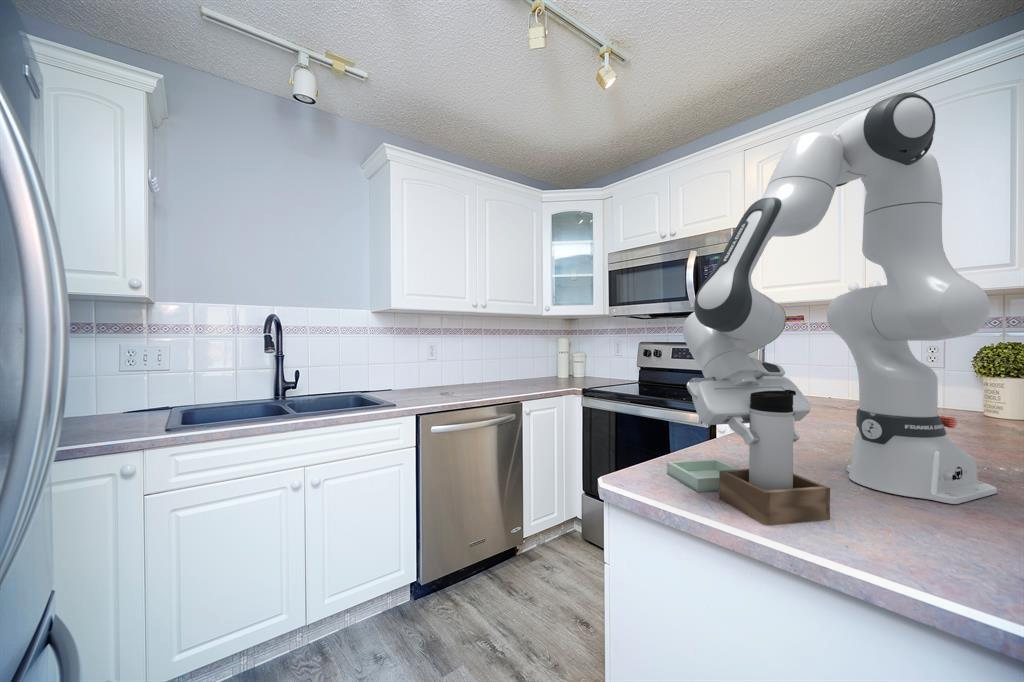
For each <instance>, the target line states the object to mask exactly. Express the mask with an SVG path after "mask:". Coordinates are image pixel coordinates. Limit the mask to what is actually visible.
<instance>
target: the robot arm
mask: <svg viewBox="0 0 1024 682" xmlns="http://www.w3.org/2000/svg"><path fill="white" fill-rule="evenodd" d="M935 131H936V112H935V109H934V107H933V105H932V103H931V101H929V100H928V99H927V98H925V97H924V96H922V95H920V94H919V93H916V92H903V93H902V92H901V93H898V94H894V95H892V96H889V97H887V98H884V99H882V100H879V101H878V102H877V103H875V104H874V105H873V106H872V107H870V108H867V109H865V110H863V111H861V112H860V113H858V114H856V115H854V116H852V117H851V118H849V119H847V120H846V121H845V122H843V123H842V124H841V125H840V126H839V127H837V128H836V129H834V130H833V131H831V132H826V131H812V132H806V133H804V134H801V135H800V136H798V137H796V138H795V139H793V141H791V142H790V143H789V144H788V146H787V147H786V149H785V150H784V152H783V153H782V155H781V158H780V159H779V161H778V162H777V164H776V167H775V168H774V170H773V173H772V174H771V176H770V178H769V182H768V184H767V186H766V189H765V191H764V194H763V195H762V197H761V198H760V199H757V200H756V201H755V202H753V203H752V204H751V205H750V206H749V207H748V208H747V210H745V212H744V214H743V215H742V217H741V218H740V220H739V222H738V224H737V226H736V227H735V229H734V230H733V232H732V235H731V237H730V239H729V240H728V242H727V244H726V246H725V248H724V250H723V252H722V253H721V256H720V257H719V258H718V259H719V260H718V261H717V263H716V265H715V266H714V269H712V271H711V273H710V274H709V276H708V277H707V278H706V279H705V281H704V282H703V283H702V284H701V286H700V287H699V289H698V291H697V293H696V295H695V299H694V303H693V304H694V305H693V310H694V311H693V312H692V313H690V314H689V315H688V316H687V317H686V319H685V321H684V322H683V325H682V326H683V327H682V334H683V335H682V336H683V339H684V341H685V344H686V346H687V348H688V350H689V352H690V354H691V356H692V358H693V359H694V361H695V362H696V363H697V364H698V365H699V366H700V368H701V373H702V375H703V377H692V378H691V379H690V380H688V382H686V388H687V391H688V393H689V394H690V395H691V398H692V402H693V405H694V408H695V411H696V413H697V415H698V418H699V420H700V421H701V422H702V423H703V424H705V425H706V426H712V425H713V426H716V425H728V426H729V428H730V430H732V431H733V432H735V433H736V434H737V435H738V436H740V437H741V439H742V440H743V442H744V443H745V444H746V445H748V446H749V445H751V444H757V442H759V437H758V436H757V433H756V432H755V431H750V430H749V428H748V427H747V426H746V425H745V424H750V413H751V411H750V404H751V402H750V396H751V393H754V392H761V391H785V390H793V391H795V392H796V395H793V406H792V407H793V411H794V414H793V417H794V419H793V443H796V442H798V440H800V438H801V437H800V435H799V433H798V432H797V430H796V423H795V422H801V421H802V420H803V419H804V418H805V417H806V416H807V415H808V414H810V412H811V405H810V402H809V401H808V399H807V398H806V396H805V395H804V394H803V392H802V391H801V390H800V389H799V387H798V386H797V385H796V384H795V383H794V382H793V381H792V380H791V379H790V378H787V377H786V376H785V374H786V371H785V369H784V368H783V367H782V366H780V365H779V364H776V363H770V362H766V361H763V360H760V359H758V358H756V357H755V358H754V357H750V355H749V354H751V353H753V352H755V351H758V350H759V349H761V348H764V347H766V346H767V345H770V344H771V343H773V341H775V340H776V339H778V337H780V335H781V334H782V333H783V331H784V330H785V326H786V322H787V316H786V312H785V310H784V308H783V307H782V306H781V304H779V303H778V302H777V301H774V300H773V299H772V298H770V297H769V296H767V295H766V294H764V293H762V292H761V291H759V290H758V289H756V288H755V287H754V286H753V283H752V274H753V272H754V270H755V267H756V266H757V264H758V262H759V260H760V258H761V256H762V254H763V252H764V251H765V248H766V247H767V245H768V243H769V242H770V240H771V239H772V238H774V237H785V238H786V237H796V236H801V235H803V234H806V233H807V232H810V231H812V230H813V229H815V228H816V227H817V226H818V225H819V224H820V223H821V222H822V220H823V219H824V218H825V216H826V213H827V212H828V210H829V208H830V206H831V203H832V200H833V197H834V195H835V192H836V188H838V187H842V186H844V185H847V184H848V183H850V182H852V181H856V180H859V179H860V181H861V182H862V184H863V186H864V188H865V192H866V193H865V200H864V206H863V218H862V219H863V220H862V221H863V224H862V243H861V244H862V245H861V247H862V248H861V249H862V250H861V252H862V254H863V256H864V258H865V259H866V260H868V261H869V262H871V263H873V264H877V265H879V266H880V267H881V268H882V270H883V271H884V274H885V277H886V284H885V285H876V286H868V287H861V288H857V289H854V290H851V291H848V292H845V293H843V294H840V295H837V296H836V297H835V298H833V299H832V300H831V302H830V303H829V305H828V308H827V311H826V321H827V324H828V326H829V328H830V329H831V330H832V331H833V332H834V333H835V334H836V335H837V336H839V337H840V339H842V340H843V341H844V343H845V344H846V345H847V347H848V349H849V351H850V353H851V355H852V357H853V360H854V363H855V365H856V368H857V376H858V391H859V392H858V393H859V394H858V395H859V396H858V397H859V399H858V401H859V403H858V404H859V405H858V406H859V407H858V408H857V409H856V414H855V420H856V421H855V422H856V423H855V425H856V427H857V428H858V431H857V432H855V434H854V437H853V443H852V453H851V460H850V464H847V466H846V471H847V472H848V478H849V479H850V481H851V480H852V482H854V483H857V484H858V485H862V486H864V487H867V488H870V489H871V490H876V491H879V492H884V493H888V494H893V495H898V496H902V497H903V496H904V497H909V498H916V499H917V498H918V499H924V500H931V501H936V502H941V503H946V504H951V505H958V504H961V503H967V502H970V501H973V500H977V499H980V498H985V497H988V496H991V495H995V494H997V493H998V489H997V487H996V486H994V485H991V484H990V483H987V482H984V481H981V480H978V467H977V461H976V460H975V458H974V457H973V455H970V454H969V453H968V452H967V451H965V450H964V449H963V448H961V447H960V446H959V445H957V443H955V442H954V441H953V440H951V439H950V438H948V437H947V436H946V435H947V432H946V429H945V427H946V428H948V429H955V428H956V426H957V425H958V420H956V417H950V416H949V417H947V416H945V415H941V416H939V413H938V408H939V407H938V406H939V405H938V403H939V401H938V391H939V390H938V387H939V386H938V385H939V384H938V382H939V381H938V380H939V379H938V376H937V374H936V372H935V371H934V369H932V368H931V367H930V366H928V365H927V364H925V363H923V362H921V361H920V360H919V359H917V358H916V357H915V354H913V353H912V351H911V348H910V346H909V342H910V341H916V342H917V341H920V342H921V341H924V342H925V341H928V342H932V341H933V342H934V341H937V342H938V341H943V340H950V339H956V338H960V337H961V338H962V337H965V336H970V335H973V334H975V333H977V332H978V331H979V330H981V328H982V327H983V326H984V325H985V324H986V322H987V321H988V319H989V317H990V313H991V312H990V311H991V302H990V299H989V297H988V295H987V293H986V292H985V291H984V289H983V288H982V287H981V286H980V285H978V284H977V283H976V282H973V281H971V280H969V279H967V278H966V277H964V276H962V275H961V274H960V273H958V271H956V269H954V267H953V266H952V264H951V263H950V261H949V259H948V257H947V255H946V253H945V248H944V244H943V186H942V178H941V172H940V168H939V164H938V161H937V158H936V157H935V156H934V155H933V154H931V153H929V152H928V151H929V150H930V148H931V146H932V144H933V140H934V134H935ZM908 341H909V342H908Z"/></svg>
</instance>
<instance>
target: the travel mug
mask: <svg viewBox="0 0 1024 682" xmlns="http://www.w3.org/2000/svg"><path fill="white" fill-rule="evenodd" d="M793 395H796V392H795V391H793V390H785V391H761V392H754V393H751V396H750V402H751V404H750V411H751V413H750V423H749V428H748V429H749V430H750V431H755V432H756V433H757V436H758V437H759V442H757V444H751V445H748V447H749V448H748V450H749V451H748V459H749V461H748V469H749V483H751V484H753V485H755V486H757V487H759V488H761V489H764V490H766V491H768V490H781V489H793V474H794V442H793V419H794V417H793V414H794V411H793V407H792V406H793Z"/></svg>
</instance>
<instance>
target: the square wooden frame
mask: <svg viewBox="0 0 1024 682" xmlns="http://www.w3.org/2000/svg"><path fill="white" fill-rule="evenodd" d="M738 469H739V470H724V471H719V492H718V493H719V497H718V498H719V500H721V501H723V502H725V503H727V504H728V505H730V506H731V507H733V508H735V509H737V510H738V511H740V512H742V513H743V514H745V515H747V516H749V517H751V518H752V519H754V520H756V521H757V522H759V523H761V524H762V525H764V526H771V525H772V526H773V525H783V524H785V525H786V524H793V523H794V524H795V523H804V522H805V523H807V522H815V521H816V522H817V521H825V520H831V487H829V486H826V485H823V484H820V483H819V482H815V481H814V480H811V479H808V478H806V477H803V476H800V475H797V474H795V473H793V489H781V490H768V491H766V490H764V489H761V488H759V487H757V486H755V485H753V484H751V483H749V468H741V469H740V468H738Z"/></svg>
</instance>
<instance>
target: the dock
mask: <svg viewBox="0 0 1024 682" xmlns="http://www.w3.org/2000/svg"><path fill="white" fill-rule="evenodd" d="M739 469H740V468H737V467H735V466H733V465H731V464H728V463H726V462H724V461H722V460H720V459H718V458H711V459H710V458H709V459H693V460H678V461H677V460H676V461H667V462H666V475H669V476H670V477H672V478H673V479H675V480H676V481H678V482H680V483H681V482H682V483H681V484H683V485H685V486H686V485H687V487H688V486H689V487H688V488H690V489H691V488H692V490H693V491H695V492H696V491H697V493H705V492H718V491H719V471H724V470H739Z"/></svg>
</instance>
